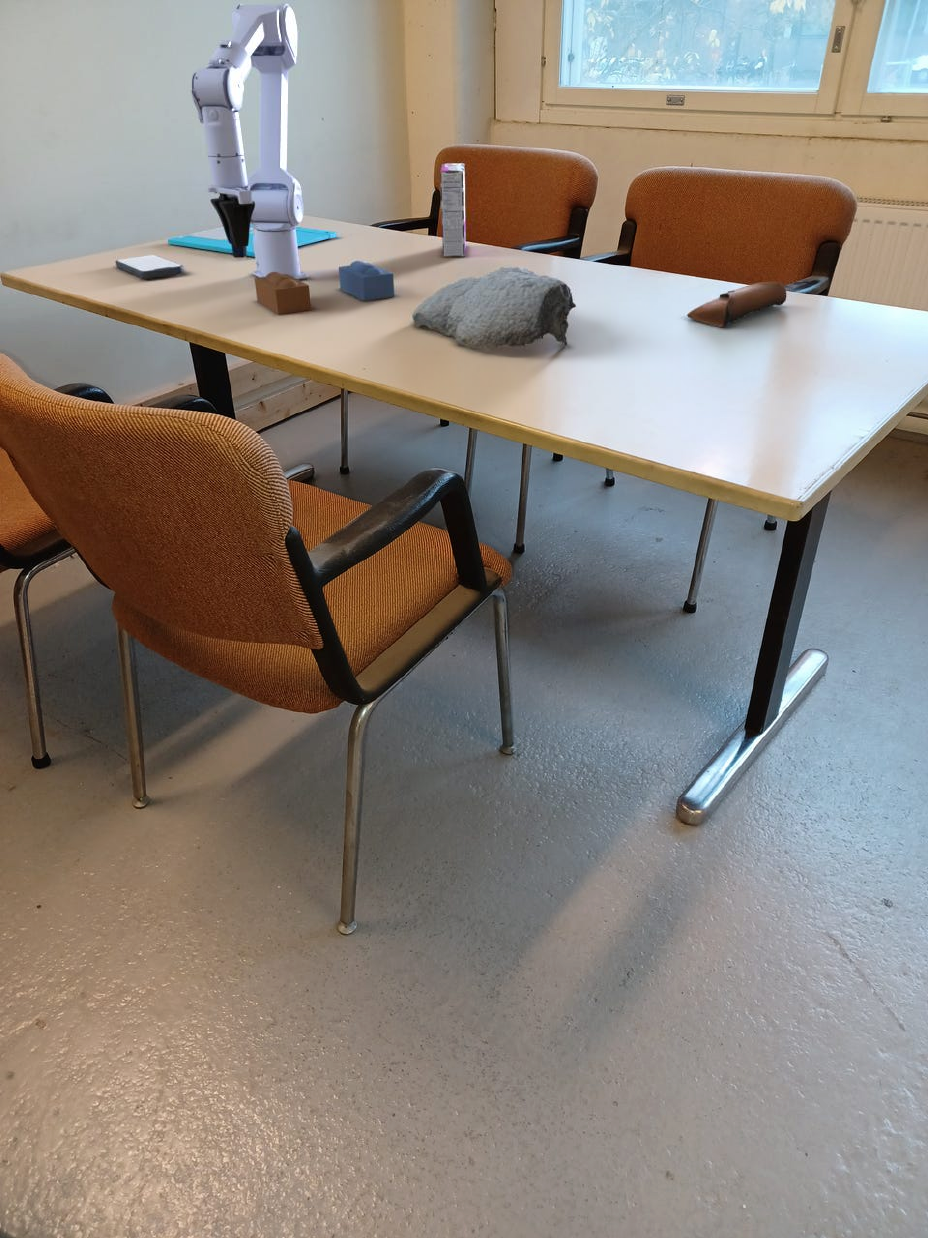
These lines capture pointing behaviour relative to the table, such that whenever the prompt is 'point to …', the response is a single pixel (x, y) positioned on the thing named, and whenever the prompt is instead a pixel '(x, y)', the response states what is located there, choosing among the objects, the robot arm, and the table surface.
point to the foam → (499, 309)
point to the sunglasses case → (739, 303)
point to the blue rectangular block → (366, 281)
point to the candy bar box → (453, 209)
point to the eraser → (237, 249)
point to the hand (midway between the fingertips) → (238, 244)
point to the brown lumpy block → (282, 293)
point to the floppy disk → (219, 241)
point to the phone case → (149, 266)
